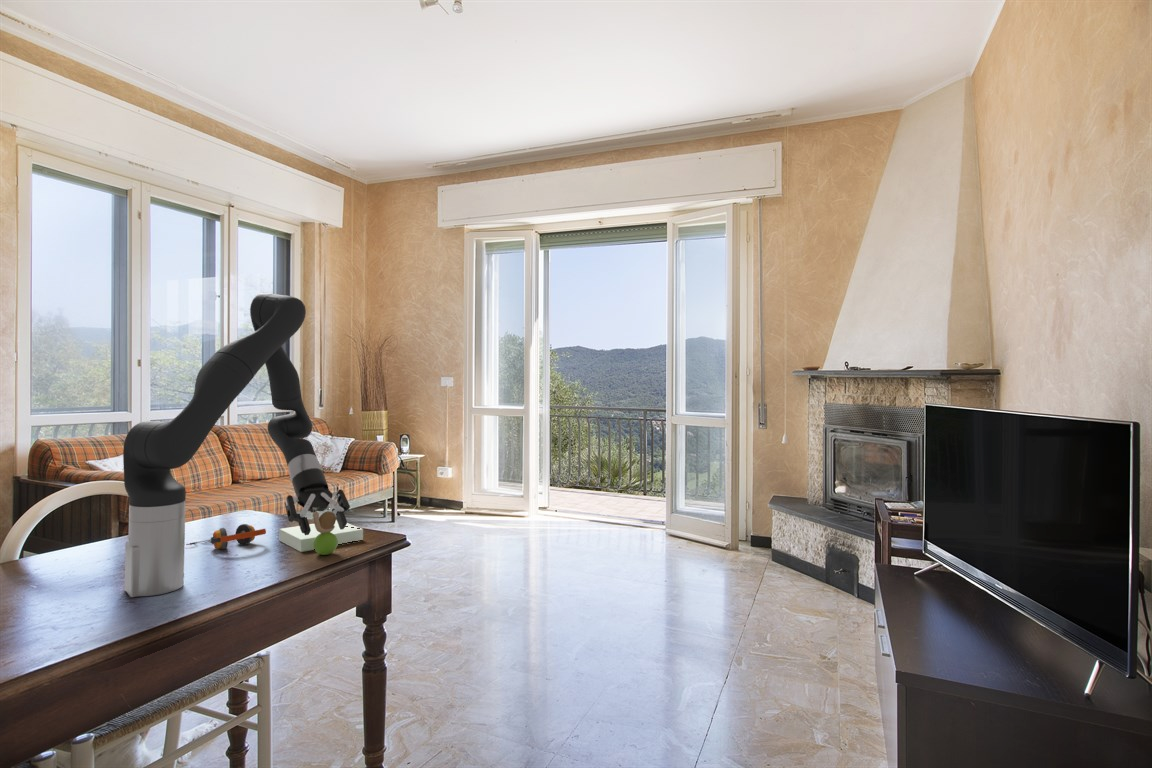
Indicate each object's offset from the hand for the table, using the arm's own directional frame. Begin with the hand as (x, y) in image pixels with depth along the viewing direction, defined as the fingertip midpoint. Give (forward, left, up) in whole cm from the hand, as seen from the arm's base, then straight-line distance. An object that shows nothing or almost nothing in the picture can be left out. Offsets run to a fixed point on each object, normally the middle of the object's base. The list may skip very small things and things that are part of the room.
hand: (326, 530), depth 144 cm
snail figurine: (0, +1, -6) cm, 6 cm away
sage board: (+5, +14, -6) cm, 16 cm away
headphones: (-13, +24, -6) cm, 28 cm away
